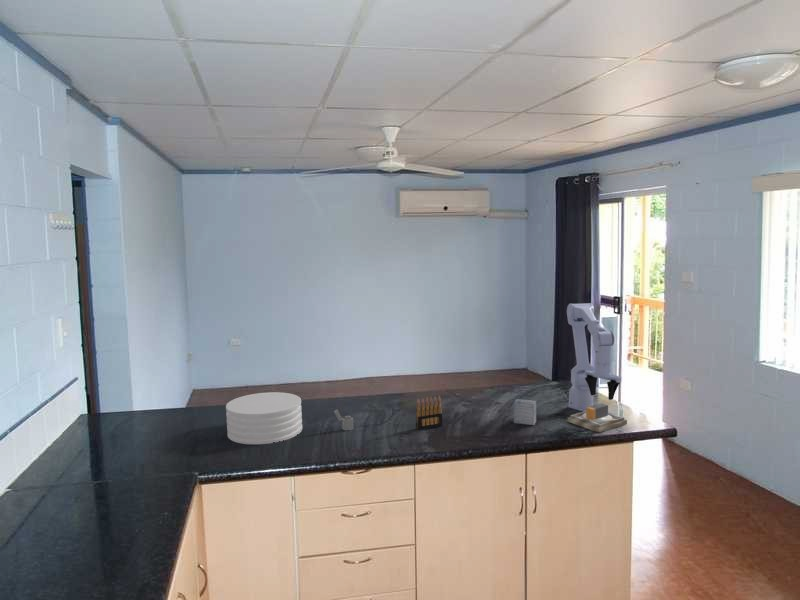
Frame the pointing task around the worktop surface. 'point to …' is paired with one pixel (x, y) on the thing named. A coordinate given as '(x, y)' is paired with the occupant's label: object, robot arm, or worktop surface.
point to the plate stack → (264, 418)
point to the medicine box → (525, 411)
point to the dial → (597, 414)
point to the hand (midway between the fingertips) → (601, 397)
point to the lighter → (345, 421)
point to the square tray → (597, 427)
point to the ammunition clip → (428, 414)
